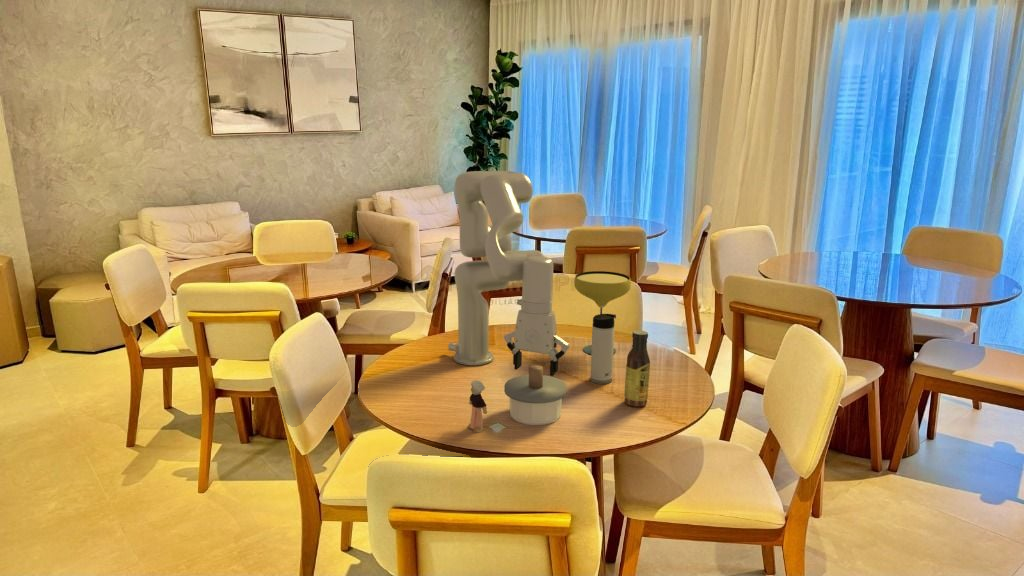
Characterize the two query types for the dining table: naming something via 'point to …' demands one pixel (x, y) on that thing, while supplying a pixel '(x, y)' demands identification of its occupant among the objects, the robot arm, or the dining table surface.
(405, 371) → the dining table surface
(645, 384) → the sauce bottle
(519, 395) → the lid
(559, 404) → the bowl
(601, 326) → the travel mug
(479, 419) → the grandmother figurine
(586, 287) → the cocktail glass
